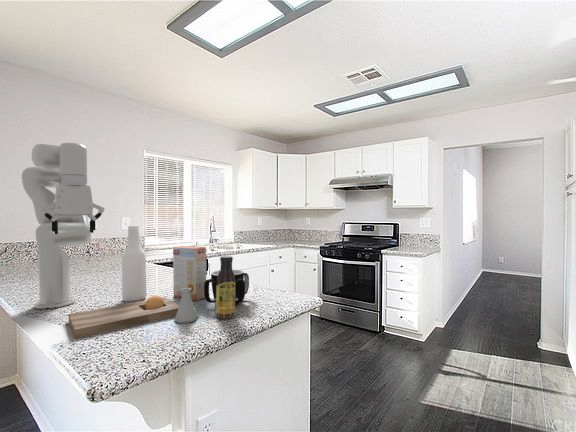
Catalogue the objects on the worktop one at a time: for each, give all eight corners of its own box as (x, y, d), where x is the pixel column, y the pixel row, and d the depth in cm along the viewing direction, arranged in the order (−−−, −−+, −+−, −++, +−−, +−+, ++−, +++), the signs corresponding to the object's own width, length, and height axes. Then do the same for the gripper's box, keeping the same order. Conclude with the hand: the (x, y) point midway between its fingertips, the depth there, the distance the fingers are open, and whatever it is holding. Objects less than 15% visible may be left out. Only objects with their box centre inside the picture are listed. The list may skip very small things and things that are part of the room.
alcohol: (130, 303, 118) (129, 226, 118) (117, 300, 123) (116, 225, 123) (150, 297, 125) (149, 225, 125) (138, 295, 130) (137, 225, 130)
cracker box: (207, 297, 125) (206, 246, 125) (195, 301, 119) (195, 248, 119) (184, 293, 132) (184, 245, 132) (173, 296, 127) (172, 246, 127)
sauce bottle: (218, 321, 96) (217, 258, 96) (213, 315, 102) (212, 256, 102) (238, 317, 99) (237, 257, 99) (232, 312, 105) (231, 254, 105)
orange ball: (146, 315, 106) (138, 301, 104) (160, 304, 111) (153, 291, 109) (156, 318, 103) (148, 303, 101) (170, 306, 107) (163, 292, 105)
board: (68, 321, 98) (68, 314, 98) (164, 303, 117) (164, 296, 117) (75, 338, 84) (74, 329, 84) (182, 314, 103) (182, 307, 103)
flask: (190, 324, 94) (190, 292, 94) (169, 323, 95) (169, 291, 95) (202, 316, 101) (201, 286, 101) (182, 315, 102) (181, 286, 102)
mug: (214, 297, 125) (214, 268, 125) (253, 298, 123) (252, 268, 123) (199, 309, 108) (198, 276, 108) (243, 310, 107) (242, 276, 107)
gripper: (40, 178, 92) (41, 235, 92) (105, 182, 103) (106, 232, 103) (39, 180, 98) (40, 234, 98) (101, 184, 109) (102, 231, 109)
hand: (74, 233), depth 101 cm, fingers open, 9 cm apart
